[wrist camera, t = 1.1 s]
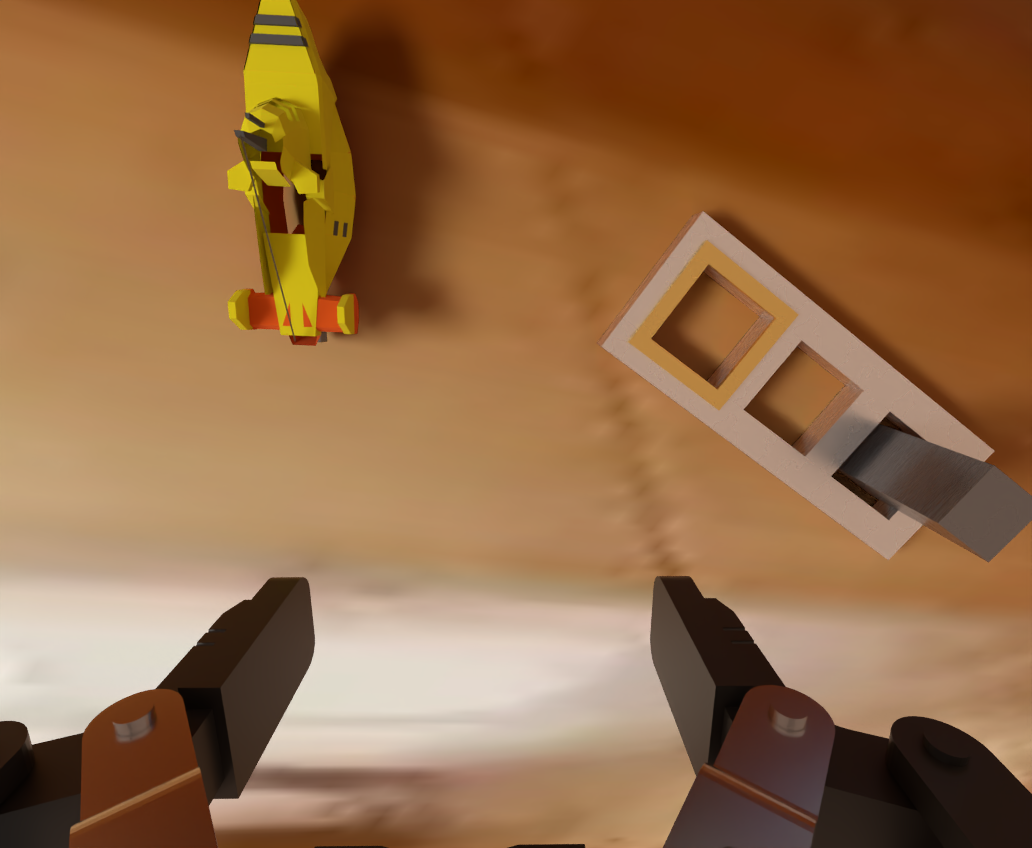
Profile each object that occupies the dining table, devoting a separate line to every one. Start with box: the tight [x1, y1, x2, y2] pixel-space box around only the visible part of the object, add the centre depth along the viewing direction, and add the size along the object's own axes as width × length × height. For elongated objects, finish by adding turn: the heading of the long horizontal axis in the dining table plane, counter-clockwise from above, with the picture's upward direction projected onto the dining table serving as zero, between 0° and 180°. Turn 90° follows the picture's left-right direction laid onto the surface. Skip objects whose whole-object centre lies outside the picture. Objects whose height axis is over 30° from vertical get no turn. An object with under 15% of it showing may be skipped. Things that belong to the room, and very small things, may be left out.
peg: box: [837, 424, 1032, 562], centre depth 33 cm, size 4×4×10 cm
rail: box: [597, 211, 994, 560], centre depth 36 cm, size 10×26×2 cm, turn 54°
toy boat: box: [227, 0, 359, 346], centre depth 29 cm, size 6×18×10 cm, turn 178°
